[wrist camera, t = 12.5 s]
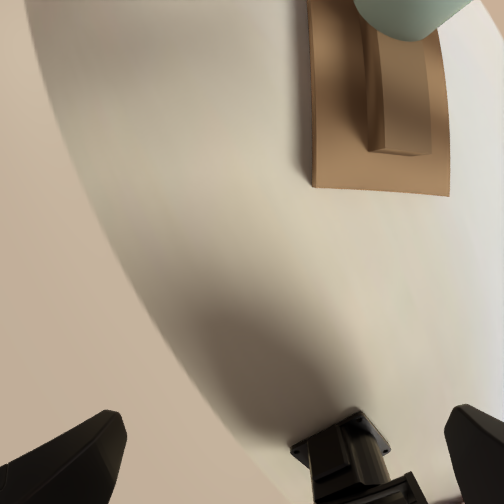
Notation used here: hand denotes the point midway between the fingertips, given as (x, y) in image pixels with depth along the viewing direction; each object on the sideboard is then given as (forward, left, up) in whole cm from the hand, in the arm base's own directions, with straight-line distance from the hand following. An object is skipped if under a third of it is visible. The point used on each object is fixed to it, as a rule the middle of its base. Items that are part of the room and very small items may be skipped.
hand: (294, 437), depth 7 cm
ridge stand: (+9, -14, -12) cm, 21 cm away
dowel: (+9, -14, -8) cm, 18 cm away
